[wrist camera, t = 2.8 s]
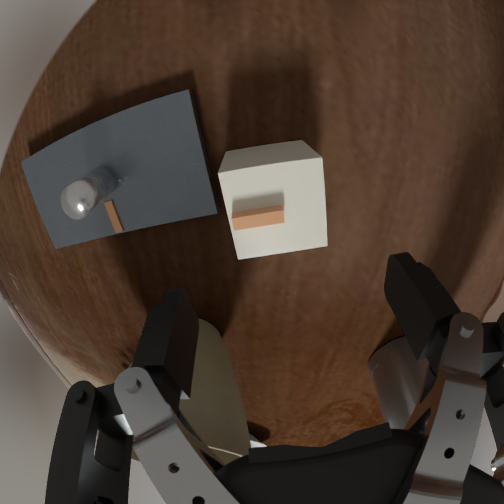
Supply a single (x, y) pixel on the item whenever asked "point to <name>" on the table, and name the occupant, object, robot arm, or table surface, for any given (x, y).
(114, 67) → the table surface
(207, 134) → the table surface
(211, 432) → the plant pot
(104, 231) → the panel
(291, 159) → the white and orange block
